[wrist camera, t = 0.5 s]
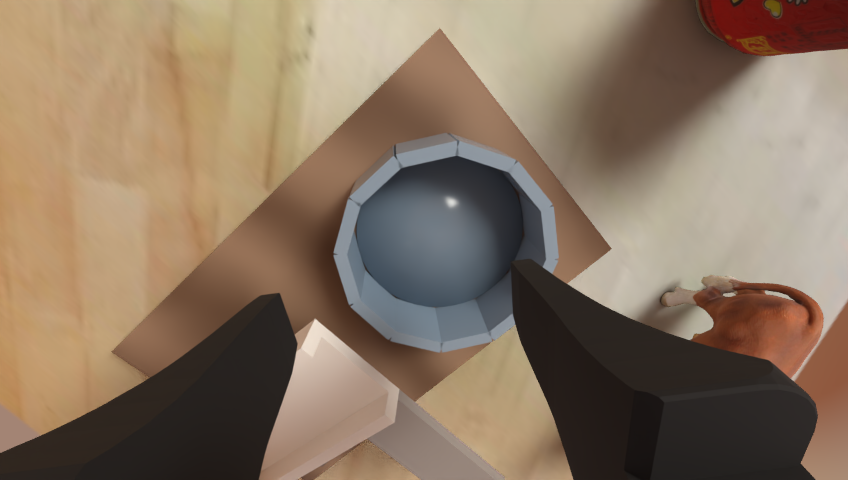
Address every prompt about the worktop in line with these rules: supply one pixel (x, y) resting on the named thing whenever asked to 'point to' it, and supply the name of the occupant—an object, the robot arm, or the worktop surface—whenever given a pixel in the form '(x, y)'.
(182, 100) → the worktop surface
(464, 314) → the bowl
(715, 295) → the bull figurine
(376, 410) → the tilted wooden ramp
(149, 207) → the worktop surface
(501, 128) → the base board
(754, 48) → the soda can
